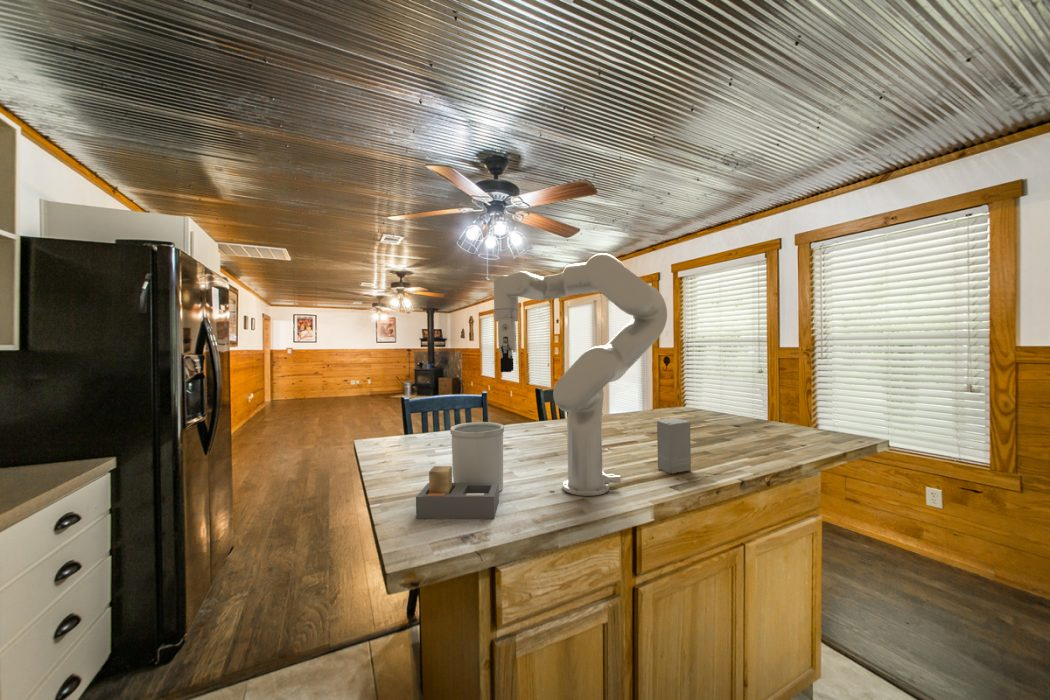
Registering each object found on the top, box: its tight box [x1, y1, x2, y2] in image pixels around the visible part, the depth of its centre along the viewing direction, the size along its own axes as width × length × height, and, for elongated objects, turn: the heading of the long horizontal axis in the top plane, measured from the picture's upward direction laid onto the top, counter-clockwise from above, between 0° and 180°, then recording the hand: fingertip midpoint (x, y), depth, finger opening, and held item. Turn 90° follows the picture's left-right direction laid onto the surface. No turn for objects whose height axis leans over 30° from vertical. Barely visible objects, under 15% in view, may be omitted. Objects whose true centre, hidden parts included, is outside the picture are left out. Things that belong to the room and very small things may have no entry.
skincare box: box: [656, 418, 692, 474], centre depth 125 cm, size 8×7×16 cm
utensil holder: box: [449, 421, 505, 493], centre depth 110 cm, size 15×15×18 cm
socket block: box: [415, 482, 500, 520], centre depth 95 cm, size 18×10×5 cm, turn 88°
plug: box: [428, 465, 453, 494], centre depth 96 cm, size 4×4×10 cm
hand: (507, 371), depth 122 cm, fingers open, 9 cm apart
